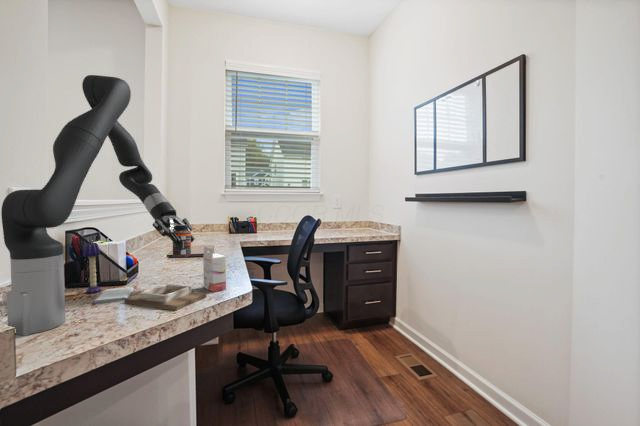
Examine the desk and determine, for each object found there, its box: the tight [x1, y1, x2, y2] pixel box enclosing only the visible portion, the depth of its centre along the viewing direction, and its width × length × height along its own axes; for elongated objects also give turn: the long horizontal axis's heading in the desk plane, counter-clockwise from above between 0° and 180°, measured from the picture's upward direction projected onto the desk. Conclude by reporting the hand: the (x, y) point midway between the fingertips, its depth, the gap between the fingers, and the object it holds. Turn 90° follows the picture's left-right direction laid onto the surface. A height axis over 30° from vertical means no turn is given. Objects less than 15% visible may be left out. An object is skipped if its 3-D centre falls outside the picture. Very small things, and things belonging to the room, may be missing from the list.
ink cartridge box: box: [202, 246, 227, 293], centre depth 102 cm, size 9×5×15 cm, turn 43°
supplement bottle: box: [172, 225, 192, 258], centre depth 104 cm, size 6×6×11 cm
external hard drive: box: [93, 286, 134, 305], centre depth 94 cm, size 2×8×12 cm
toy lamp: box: [82, 242, 103, 295], centre depth 98 cm, size 5×5×17 cm
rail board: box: [124, 283, 207, 311], centre depth 90 cm, size 12×20×3 cm, turn 71°
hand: (185, 241), depth 103 cm, fingers closed on supplement bottle, 6 cm apart
